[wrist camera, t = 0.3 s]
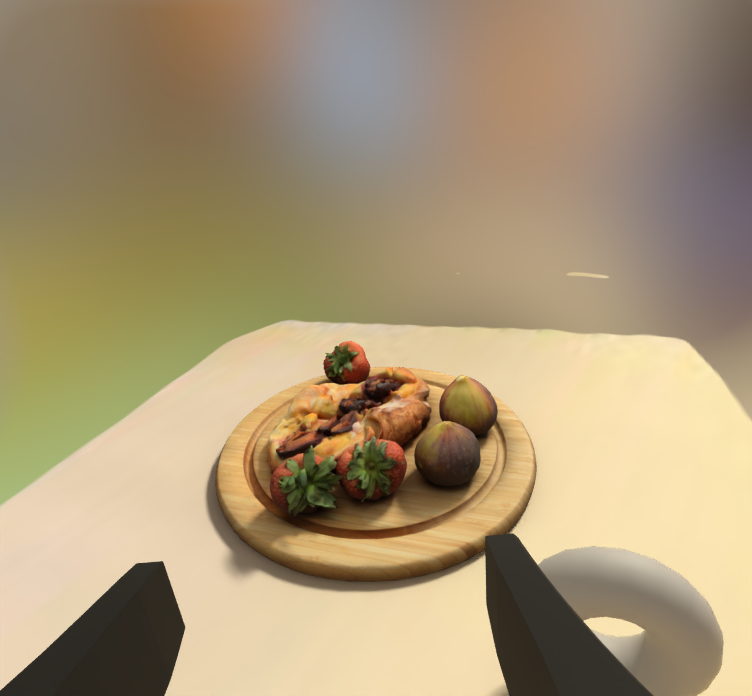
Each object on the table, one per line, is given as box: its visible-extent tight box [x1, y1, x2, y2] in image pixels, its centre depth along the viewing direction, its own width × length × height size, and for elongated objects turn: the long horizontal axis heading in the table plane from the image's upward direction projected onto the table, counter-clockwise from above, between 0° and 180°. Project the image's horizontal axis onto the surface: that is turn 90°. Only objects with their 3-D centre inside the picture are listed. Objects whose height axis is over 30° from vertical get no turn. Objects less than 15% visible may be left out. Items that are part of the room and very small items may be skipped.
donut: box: [538, 546, 723, 696], centre depth 26 cm, size 10×4×10 cm, turn 71°
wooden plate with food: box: [216, 341, 536, 581], centre depth 48 cm, size 32×32×8 cm
